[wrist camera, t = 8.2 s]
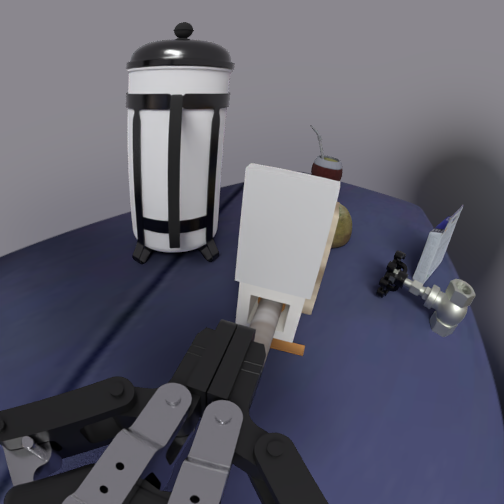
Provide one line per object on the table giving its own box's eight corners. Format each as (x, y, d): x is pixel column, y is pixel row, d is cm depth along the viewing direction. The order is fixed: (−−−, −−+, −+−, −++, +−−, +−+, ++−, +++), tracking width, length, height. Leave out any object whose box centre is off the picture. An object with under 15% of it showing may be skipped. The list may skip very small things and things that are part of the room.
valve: (456, 322, 33) (388, 282, 40) (479, 283, 30) (404, 242, 36) (447, 349, 29) (370, 303, 35) (474, 308, 25) (388, 259, 32)
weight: (281, 207, 57) (285, 182, 55) (350, 224, 55) (356, 200, 52) (261, 238, 46) (265, 208, 44) (347, 260, 43) (356, 231, 41)
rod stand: (270, 479, 17) (318, 410, 11) (167, 446, 18) (136, 353, 12) (314, 293, 36) (339, 202, 30) (251, 277, 37) (263, 185, 31)
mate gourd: (342, 193, 68) (355, 132, 60) (327, 200, 63) (341, 133, 55) (315, 183, 72) (325, 124, 64) (298, 189, 66) (309, 124, 58)
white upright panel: (296, 343, 25) (340, 187, 18) (230, 326, 26) (245, 167, 19) (303, 314, 28) (340, 170, 21) (243, 298, 30) (261, 154, 22)
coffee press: (100, 244, 40) (92, 28, 24) (179, 210, 51) (189, 34, 35) (176, 303, 32) (186, -6, 16) (261, 249, 43) (291, 29, 27)
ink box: (430, 256, 48) (453, 198, 41) (441, 262, 46) (464, 204, 40) (409, 278, 41) (437, 210, 35) (421, 286, 39) (451, 217, 33)
